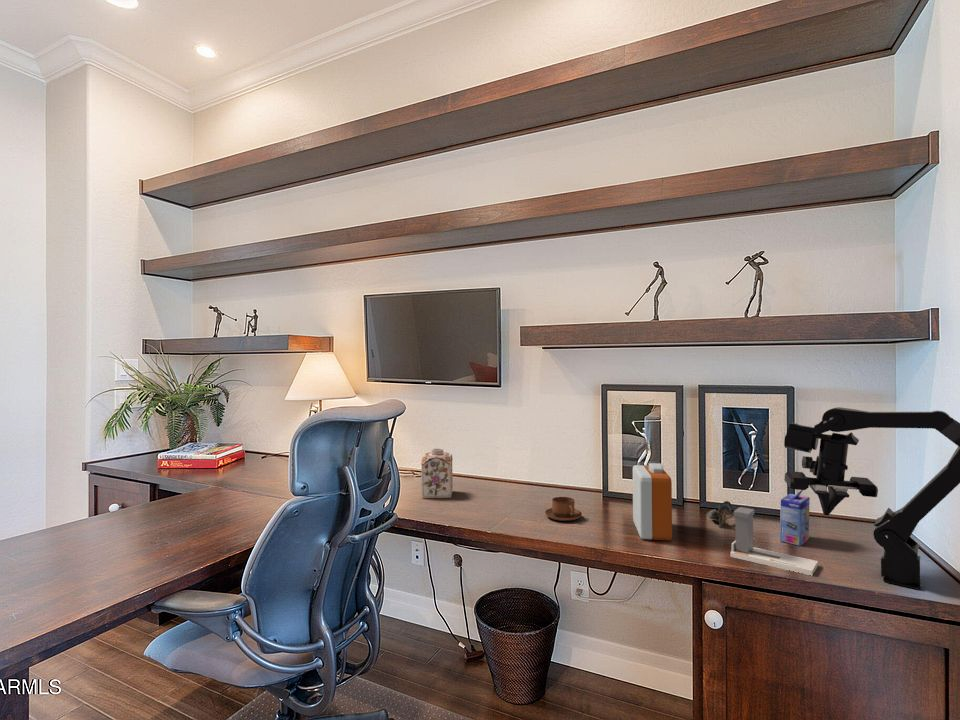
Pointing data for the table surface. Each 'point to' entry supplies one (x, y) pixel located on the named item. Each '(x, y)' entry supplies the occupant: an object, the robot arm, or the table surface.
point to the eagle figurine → (721, 513)
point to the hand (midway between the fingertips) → (825, 514)
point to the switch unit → (776, 560)
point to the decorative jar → (436, 474)
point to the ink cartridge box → (794, 519)
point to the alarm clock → (652, 502)
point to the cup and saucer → (563, 509)
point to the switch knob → (744, 529)
